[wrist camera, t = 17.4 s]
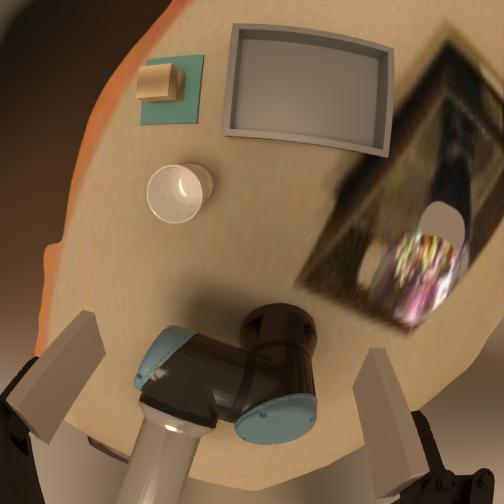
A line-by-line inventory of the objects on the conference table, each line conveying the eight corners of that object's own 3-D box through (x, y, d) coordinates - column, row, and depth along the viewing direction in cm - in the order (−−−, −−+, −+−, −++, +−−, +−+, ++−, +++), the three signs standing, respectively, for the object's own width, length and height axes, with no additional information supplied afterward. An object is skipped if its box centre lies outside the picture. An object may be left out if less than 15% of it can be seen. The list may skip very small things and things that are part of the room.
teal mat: (197, 123, 40) (196, 123, 39) (141, 125, 40) (140, 124, 40) (204, 55, 35) (203, 54, 35) (148, 60, 36) (147, 60, 35)
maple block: (183, 102, 38) (167, 95, 31) (155, 103, 38) (135, 98, 32) (186, 74, 36) (171, 63, 30) (157, 76, 36) (139, 67, 30)
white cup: (178, 154, 42) (153, 158, 33) (223, 167, 42) (209, 173, 33) (167, 199, 45) (142, 214, 36) (210, 212, 45) (194, 231, 36)
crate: (376, 155, 39) (388, 157, 35) (227, 136, 40) (221, 135, 36) (382, 57, 32) (393, 48, 28) (237, 35, 33) (232, 23, 29)
